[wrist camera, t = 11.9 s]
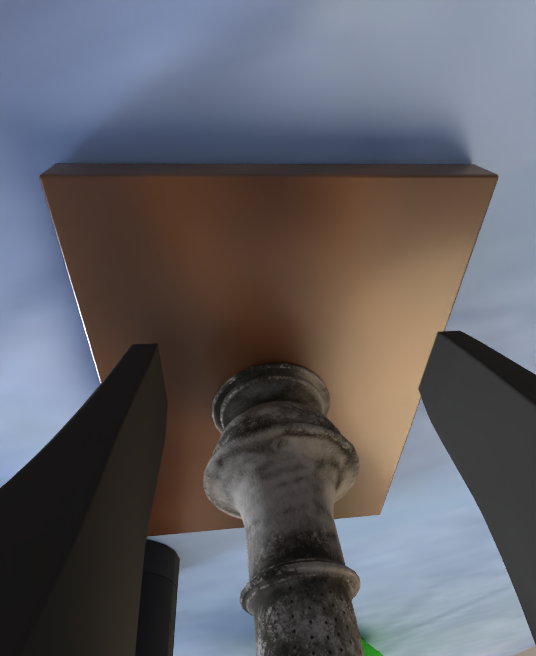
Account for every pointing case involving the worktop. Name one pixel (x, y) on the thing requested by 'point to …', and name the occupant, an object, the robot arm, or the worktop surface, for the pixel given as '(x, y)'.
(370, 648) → the plastic bottle
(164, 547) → the black bottle
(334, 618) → the grey stone baluster
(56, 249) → the worktop surface
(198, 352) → the cutting board
